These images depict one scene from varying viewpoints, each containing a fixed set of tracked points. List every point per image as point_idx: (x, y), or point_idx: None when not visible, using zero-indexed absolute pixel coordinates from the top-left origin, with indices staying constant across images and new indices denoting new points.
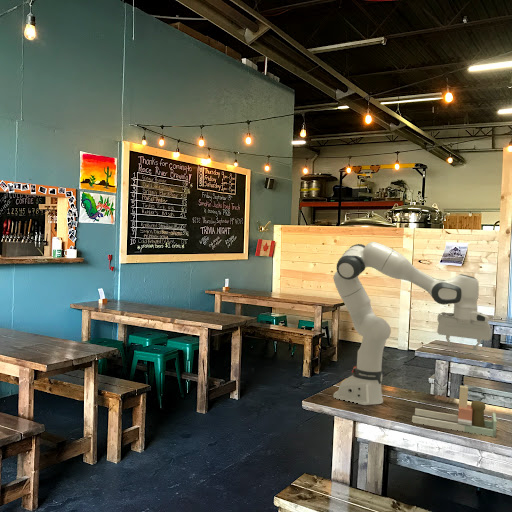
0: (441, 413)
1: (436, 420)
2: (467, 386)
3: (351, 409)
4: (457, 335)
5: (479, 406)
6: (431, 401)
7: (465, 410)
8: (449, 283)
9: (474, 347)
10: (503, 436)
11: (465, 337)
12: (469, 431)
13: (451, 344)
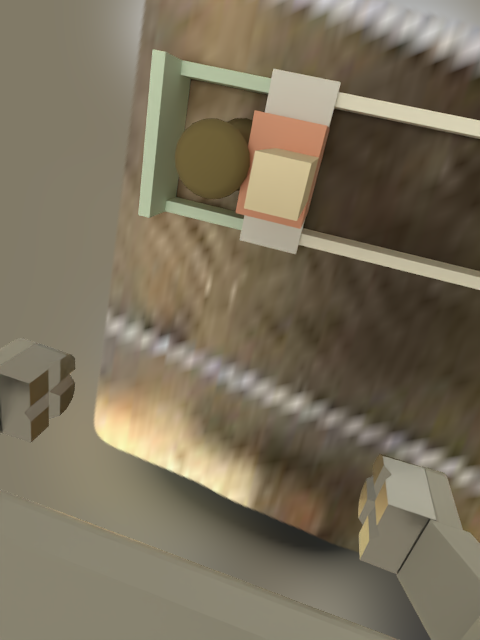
0: (376, 251)
1: (442, 114)
2: (248, 205)
3: None
4: (287, 630)
5: (210, 119)
6: (349, 467)
7: (291, 118)
8: None
9: (30, 364)
10: (147, 95)
11: (78, 521)
12: None
13: (396, 484)
